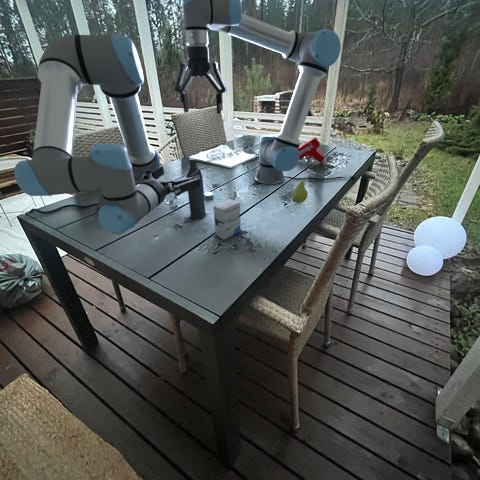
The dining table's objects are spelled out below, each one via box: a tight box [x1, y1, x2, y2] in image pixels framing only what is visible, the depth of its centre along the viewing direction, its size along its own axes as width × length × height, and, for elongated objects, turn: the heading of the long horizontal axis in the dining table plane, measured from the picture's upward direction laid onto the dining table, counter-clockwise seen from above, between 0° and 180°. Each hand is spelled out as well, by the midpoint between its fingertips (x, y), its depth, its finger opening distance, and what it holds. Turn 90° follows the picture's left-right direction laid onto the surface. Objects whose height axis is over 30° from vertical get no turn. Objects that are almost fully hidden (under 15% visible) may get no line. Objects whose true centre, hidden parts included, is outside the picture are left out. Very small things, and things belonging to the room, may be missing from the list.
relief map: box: [188, 143, 257, 169], centre depth 179 cm, size 27×35×5 cm
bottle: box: [185, 158, 207, 220], centre depth 105 cm, size 6×6×23 cm
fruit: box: [291, 174, 311, 204], centre depth 118 cm, size 7×8×12 cm
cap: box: [204, 191, 214, 201], centre depth 126 cm, size 4×4×2 cm
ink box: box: [213, 198, 242, 240], centre depth 96 cm, size 8×5×12 cm, turn 135°
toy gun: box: [298, 136, 326, 164], centre depth 169 cm, size 18×4×15 cm
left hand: (181, 171), depth 91 cm, fingers open, 13 cm apart
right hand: (202, 112), depth 106 cm, fingers open, 13 cm apart
